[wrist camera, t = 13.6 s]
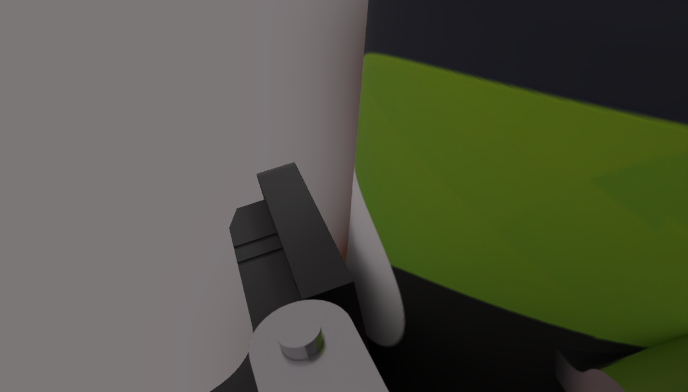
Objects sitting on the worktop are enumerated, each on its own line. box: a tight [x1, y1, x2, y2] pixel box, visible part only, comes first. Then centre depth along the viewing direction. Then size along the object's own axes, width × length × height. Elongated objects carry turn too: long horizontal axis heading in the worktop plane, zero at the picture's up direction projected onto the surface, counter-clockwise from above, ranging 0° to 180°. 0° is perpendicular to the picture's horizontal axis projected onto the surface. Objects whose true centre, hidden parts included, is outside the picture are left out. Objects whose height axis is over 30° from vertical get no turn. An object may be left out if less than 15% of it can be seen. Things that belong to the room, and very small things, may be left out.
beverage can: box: [346, 0, 688, 392], centre depth 10 cm, size 6×6×15 cm
